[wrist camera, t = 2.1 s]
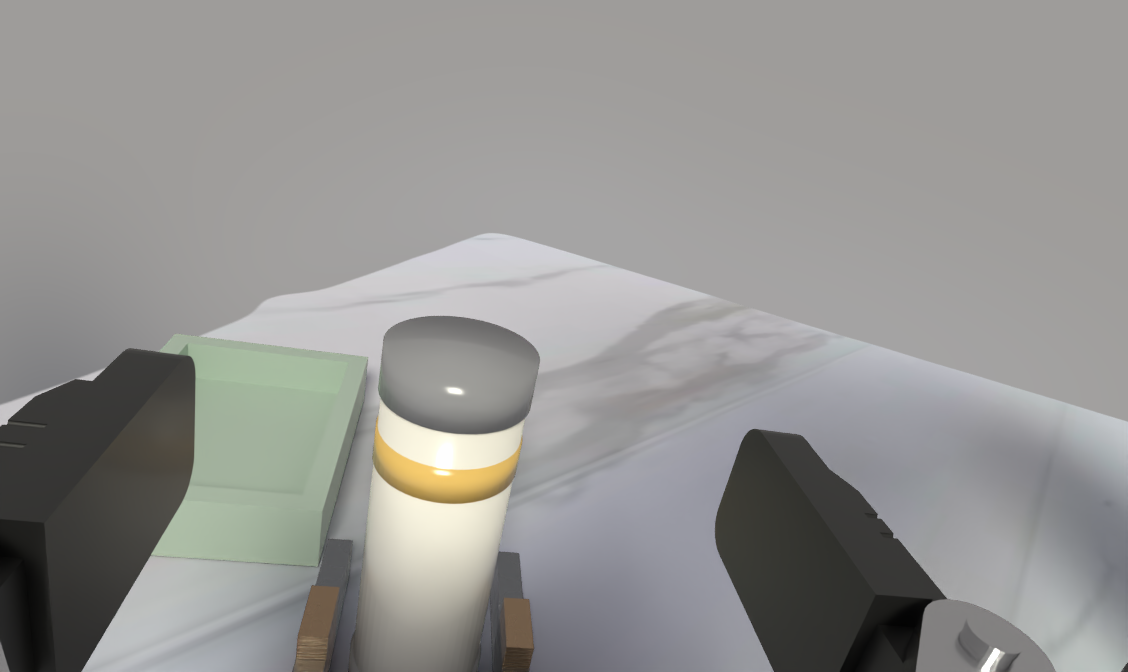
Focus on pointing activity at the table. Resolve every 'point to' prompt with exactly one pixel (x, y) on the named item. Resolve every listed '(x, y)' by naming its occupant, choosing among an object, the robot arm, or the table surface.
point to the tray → (264, 450)
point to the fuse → (439, 491)
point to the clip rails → (329, 593)
